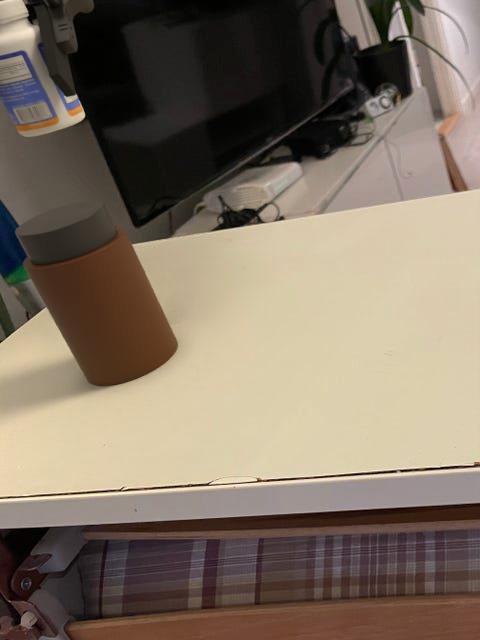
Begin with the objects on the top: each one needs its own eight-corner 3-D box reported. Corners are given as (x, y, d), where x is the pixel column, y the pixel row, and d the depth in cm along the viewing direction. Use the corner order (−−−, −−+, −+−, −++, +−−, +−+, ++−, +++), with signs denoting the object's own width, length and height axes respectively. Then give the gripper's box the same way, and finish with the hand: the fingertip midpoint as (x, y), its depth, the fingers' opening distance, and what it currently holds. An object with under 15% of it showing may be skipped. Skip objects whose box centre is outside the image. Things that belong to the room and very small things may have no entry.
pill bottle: (67, 117, 68) (11, -2, 63) (99, 116, 65) (43, -9, 60) (8, 138, 65) (-56, 14, 60) (39, 138, 61) (-26, 8, 56)
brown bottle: (66, 385, 66) (-17, 242, 59) (126, 336, 72) (57, 201, 66) (140, 386, 63) (62, 235, 56) (195, 334, 70) (131, 193, 63)
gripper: (105, -122, 70) (159, 94, 65) (-105, -76, 68) (-68, 151, 62) (65, -201, 63) (122, 35, 57) (-172, -153, 61) (-137, 97, 55)
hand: (23, 95), depth 60 cm, fingers closed on pill bottle, 5 cm apart
